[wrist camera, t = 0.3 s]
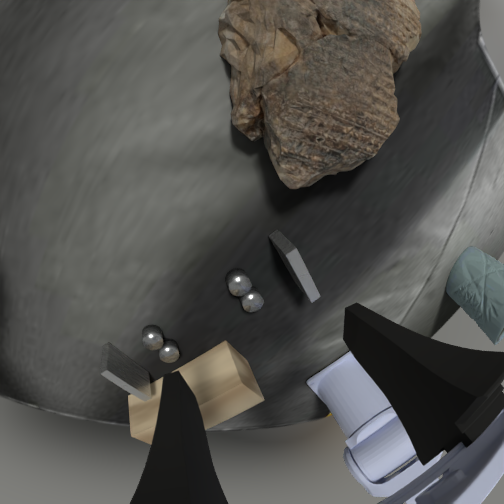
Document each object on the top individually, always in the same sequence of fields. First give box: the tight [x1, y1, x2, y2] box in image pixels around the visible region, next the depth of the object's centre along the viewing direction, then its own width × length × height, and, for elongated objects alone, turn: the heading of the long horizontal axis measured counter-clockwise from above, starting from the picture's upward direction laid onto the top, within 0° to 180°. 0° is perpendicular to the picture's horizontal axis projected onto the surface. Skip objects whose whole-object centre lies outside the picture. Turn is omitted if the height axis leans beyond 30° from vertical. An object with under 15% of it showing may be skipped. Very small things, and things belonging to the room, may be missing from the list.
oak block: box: [128, 341, 264, 444], centre depth 23 cm, size 4×12×5 cm, turn 119°
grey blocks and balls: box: [100, 230, 320, 401], centre depth 20 cm, size 5×17×3 cm, turn 119°
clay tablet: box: [218, 0, 422, 189], centre depth 13 cm, size 14×5×20 cm
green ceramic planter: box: [446, 246, 504, 345], centre depth 29 cm, size 10×10×12 cm
